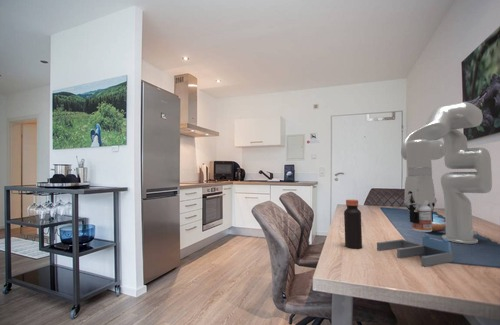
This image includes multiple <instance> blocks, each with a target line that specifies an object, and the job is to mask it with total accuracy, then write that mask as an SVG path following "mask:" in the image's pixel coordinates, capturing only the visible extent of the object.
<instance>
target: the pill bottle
mask: <svg viewBox="0 0 500 325" xmlns="http://www.w3.org/2000/svg"><path fill="white" fill-rule="evenodd" d="M413 203H415V202H413ZM413 206H414V208H415V205H413ZM417 212H419V223H412V222H411V230H413V231H415V232H422V233H423V232H424V233H429V232H430V233H431V232H432V231H433V222H432V214H431V208H430V207H429V206H428V200H427V201H424V203H423V204H419V208H418V211H417Z"/></svg>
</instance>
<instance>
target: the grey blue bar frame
mask: <svg viewBox="0 0 500 325" xmlns="http://www.w3.org/2000/svg"><path fill="white" fill-rule="evenodd" d="M451 245H452V241H449V239H446V238H442V239H437V238H434V237H430V234H428V233H424V234H423V236H422V244H421V243H418V242H414V241H410V240H406V239H394V240H388V241H387V240H386V241H380V242H379V241H378V242H376V251H379V252H380V251H387V250H394V249H396V258H398V259H402V258H403V259H404V258H408V257H409V258H410V257H415V256H421V255H422V256H421V261H420V262H421V263H420V264H421V267H425V268H426V267H427V268H428V267H432V266H437V265H442V264H448V263H452V262H453V263H454V252H452V246H451ZM423 255H424V256H423Z"/></svg>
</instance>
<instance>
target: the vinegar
mask: <svg viewBox="0 0 500 325" xmlns="http://www.w3.org/2000/svg"><path fill="white" fill-rule="evenodd" d="M345 205H346V206H345V207H346V209H345V210H344V211H343V218H344V219H343V223H344V244H345V245H344V246H345V247H346V248H348V249H354V250H355V249H356V250H357V249H362V248H363V235H362V232H363V231H362V213H361V210H360V209H358V207H359V200H358V199H346V200H345Z"/></svg>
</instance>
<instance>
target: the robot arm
mask: <svg viewBox="0 0 500 325" xmlns="http://www.w3.org/2000/svg"><path fill="white" fill-rule="evenodd" d="M483 118H484V116H483V112H482V111H481V109H480V108H479V107H478V106H476V105H475V104H474V103H471V102H466V101H462V102H457V103H452V104H451V103H450V104H447V105H441V106H439V107H436V108H435V109H433V111H432V112H431V114H430V116H429V117H428V119H427V121H426V124H424V125H423V126H421V127H419V128H417V129H416V130H415V131H413V132H411V133H410V134H408V135H407V136H406V138H405V140H404V142H403V143H402V146H401V148H400V155H401V157H402V159H404V160H405V161H406V172H407V173H406V175H407V176H406V177H405V182H404V200H403V204H404V205H405V206H406V208H407V210H408V212H409V222H410V223H411V224H412V223H419V212H417V211H418V208H419V204H423V203H424V201H427V200H428V206H429V207H430V208H431V214H432V223H434V209H435V206H436V203H437V201H438V199H437V198H436V197H435V196H436V193H435V186H434V185H435V184H434V179H433V169H432V168H433V167H432V166H433V164H432V161H435V160H440V159H442V158H444V165H445V167H446V168H447V169H451V170H475V171H450V172H445V173H444V174H442V175H441V177H440V184H441V188H442V193H443V198H444V199H443V203H444V216H445V217H444V220H445V234H442V235H441V238H442V239H443V238H446V239H449V242H451V243H458V244H465V245H466V244H467V245H469V244H471V245H473V244H474V245H475V244H478V243H479V240H478V239H477V238H476V237H474V236H476V235H478V231H477V230H474V229H473V212H472V202H471V200H470V198H468V197H467V196H466V195H465V194H487V193H490V192H491V191H492V189H493V188H492V187H493V177H492V158H491V155H490V151H488V149H486V148H485V147H468V139H467V136H466V135H465V134H464V133H463V132H461V131H460V130H461V129H469V128H475V127H479V126H480V125H481V124H482V122H483V120H484V119H483ZM440 139H442V140H443V142H442V141H441V140H440ZM413 202H415V203H413ZM413 205H415V208H414V206H413Z"/></svg>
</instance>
